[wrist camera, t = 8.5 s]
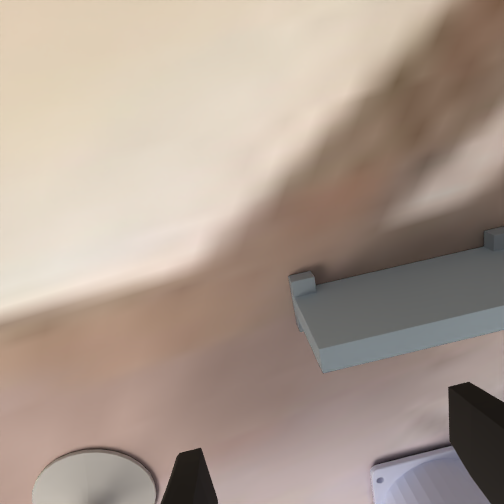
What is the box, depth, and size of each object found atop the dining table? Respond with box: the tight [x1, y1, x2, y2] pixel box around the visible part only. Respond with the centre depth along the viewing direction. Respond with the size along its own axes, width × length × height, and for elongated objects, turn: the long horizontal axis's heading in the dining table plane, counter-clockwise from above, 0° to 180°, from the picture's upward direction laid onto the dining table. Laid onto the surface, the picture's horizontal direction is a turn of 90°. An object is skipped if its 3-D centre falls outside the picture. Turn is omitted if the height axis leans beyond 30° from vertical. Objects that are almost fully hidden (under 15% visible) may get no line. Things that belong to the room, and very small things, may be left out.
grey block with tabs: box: [288, 226, 504, 373], centre depth 19 cm, size 3×12×6 cm, turn 101°
